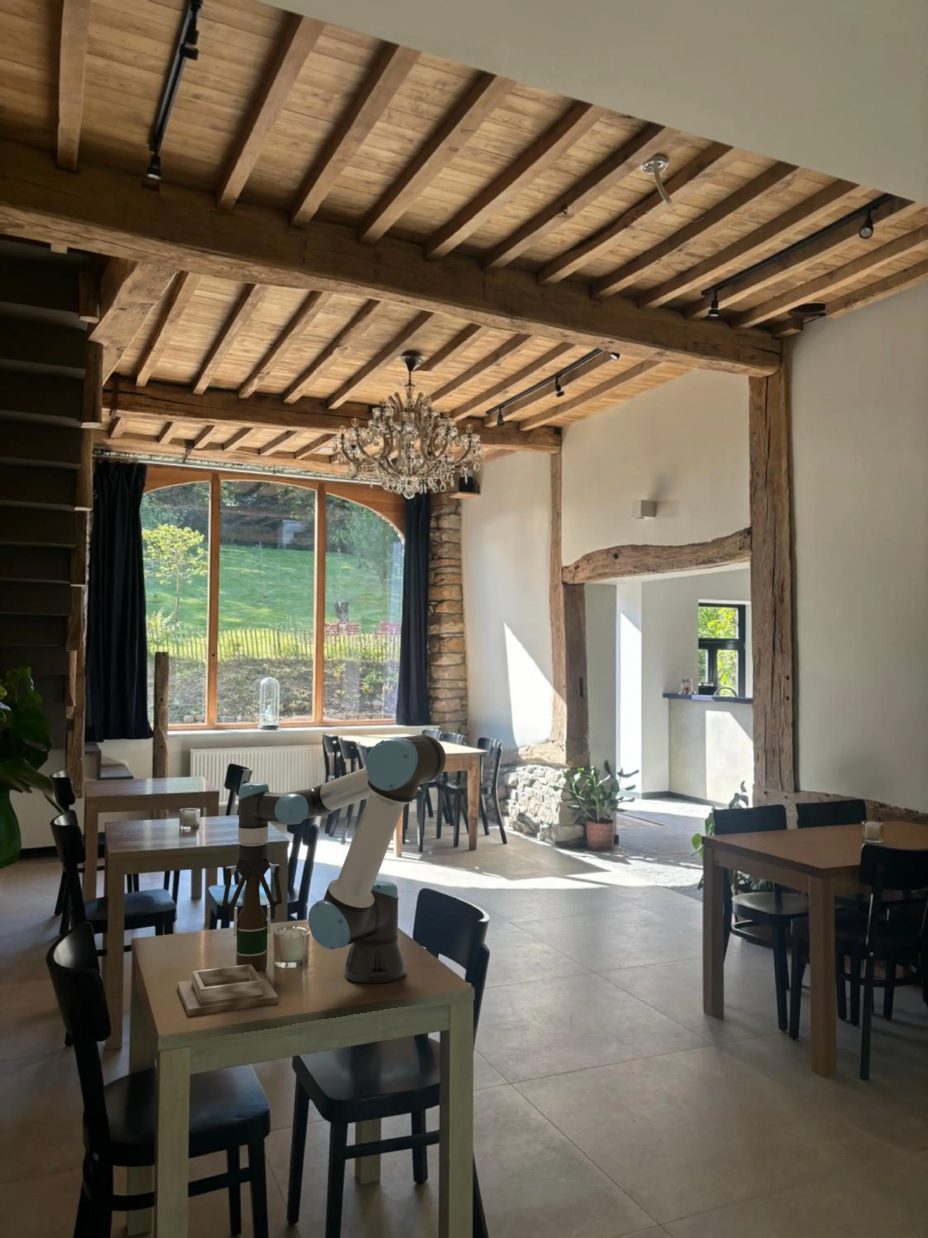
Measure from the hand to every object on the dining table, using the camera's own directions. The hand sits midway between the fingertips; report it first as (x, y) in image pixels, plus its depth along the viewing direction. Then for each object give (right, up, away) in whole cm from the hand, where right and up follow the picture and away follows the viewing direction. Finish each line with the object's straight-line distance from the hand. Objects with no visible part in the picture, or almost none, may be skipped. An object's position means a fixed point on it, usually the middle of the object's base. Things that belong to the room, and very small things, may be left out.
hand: (252, 933), depth 236 cm
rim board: (-2, -8, -20) cm, 21 cm away
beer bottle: (0, -9, -1) cm, 9 cm away
